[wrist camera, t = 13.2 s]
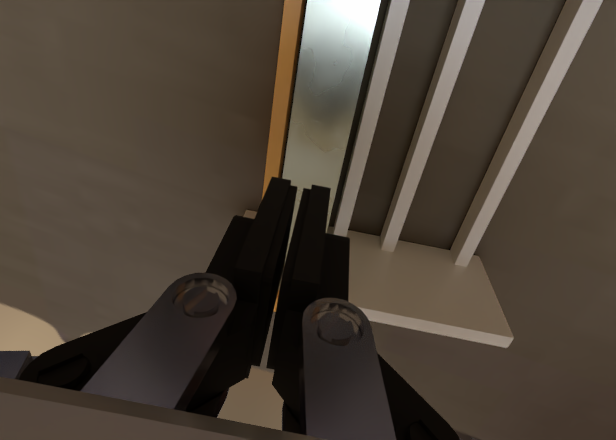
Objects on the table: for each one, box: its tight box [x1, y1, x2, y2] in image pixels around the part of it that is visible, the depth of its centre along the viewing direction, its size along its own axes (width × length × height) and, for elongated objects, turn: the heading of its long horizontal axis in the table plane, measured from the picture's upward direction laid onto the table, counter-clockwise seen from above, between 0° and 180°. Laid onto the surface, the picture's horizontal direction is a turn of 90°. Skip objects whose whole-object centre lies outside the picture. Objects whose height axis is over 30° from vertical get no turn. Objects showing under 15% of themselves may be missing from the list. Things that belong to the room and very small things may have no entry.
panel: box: [282, 0, 381, 265], centre depth 19 cm, size 14×2×6 cm, turn 171°
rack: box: [243, 0, 603, 348], centre depth 19 cm, size 18×16×8 cm
